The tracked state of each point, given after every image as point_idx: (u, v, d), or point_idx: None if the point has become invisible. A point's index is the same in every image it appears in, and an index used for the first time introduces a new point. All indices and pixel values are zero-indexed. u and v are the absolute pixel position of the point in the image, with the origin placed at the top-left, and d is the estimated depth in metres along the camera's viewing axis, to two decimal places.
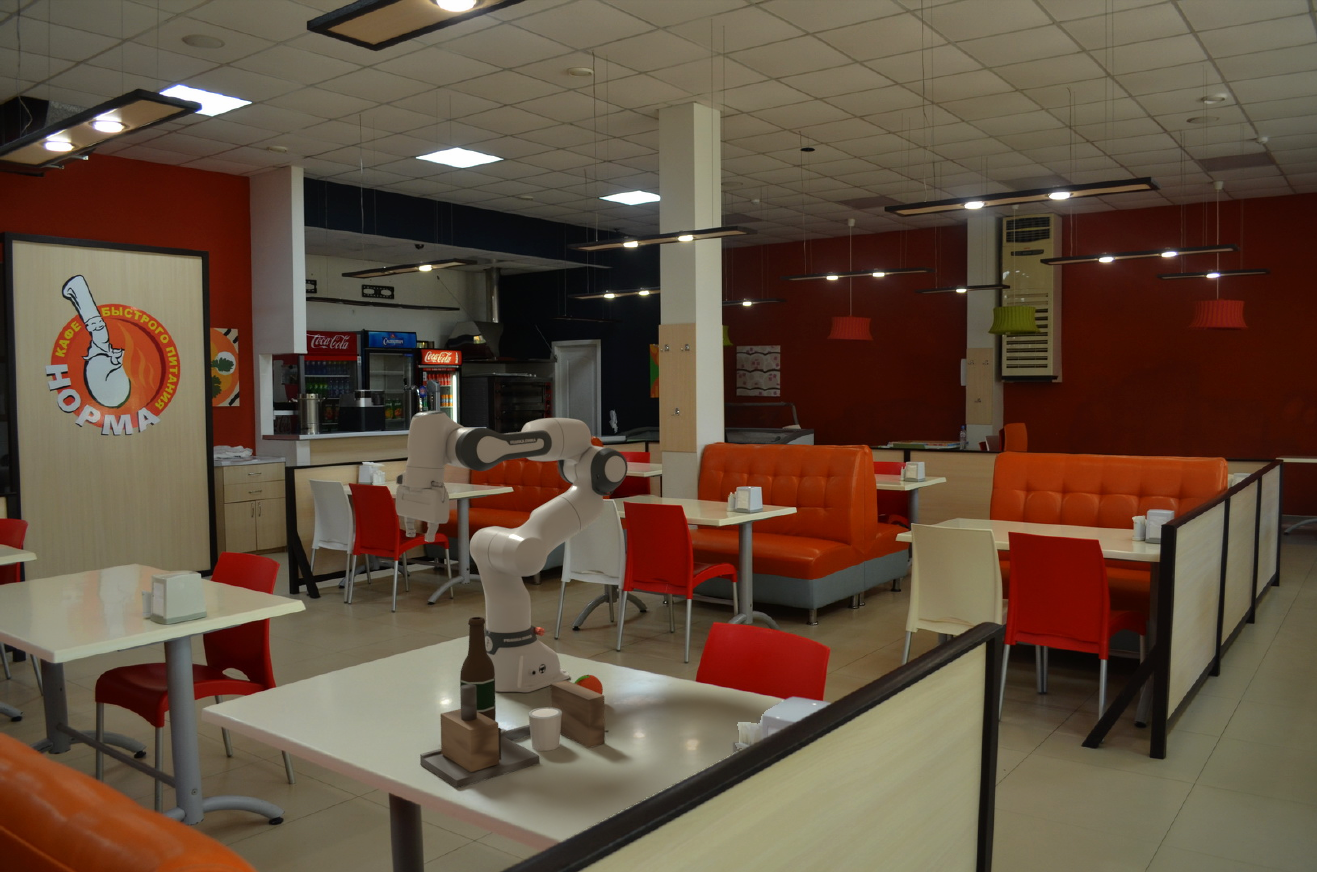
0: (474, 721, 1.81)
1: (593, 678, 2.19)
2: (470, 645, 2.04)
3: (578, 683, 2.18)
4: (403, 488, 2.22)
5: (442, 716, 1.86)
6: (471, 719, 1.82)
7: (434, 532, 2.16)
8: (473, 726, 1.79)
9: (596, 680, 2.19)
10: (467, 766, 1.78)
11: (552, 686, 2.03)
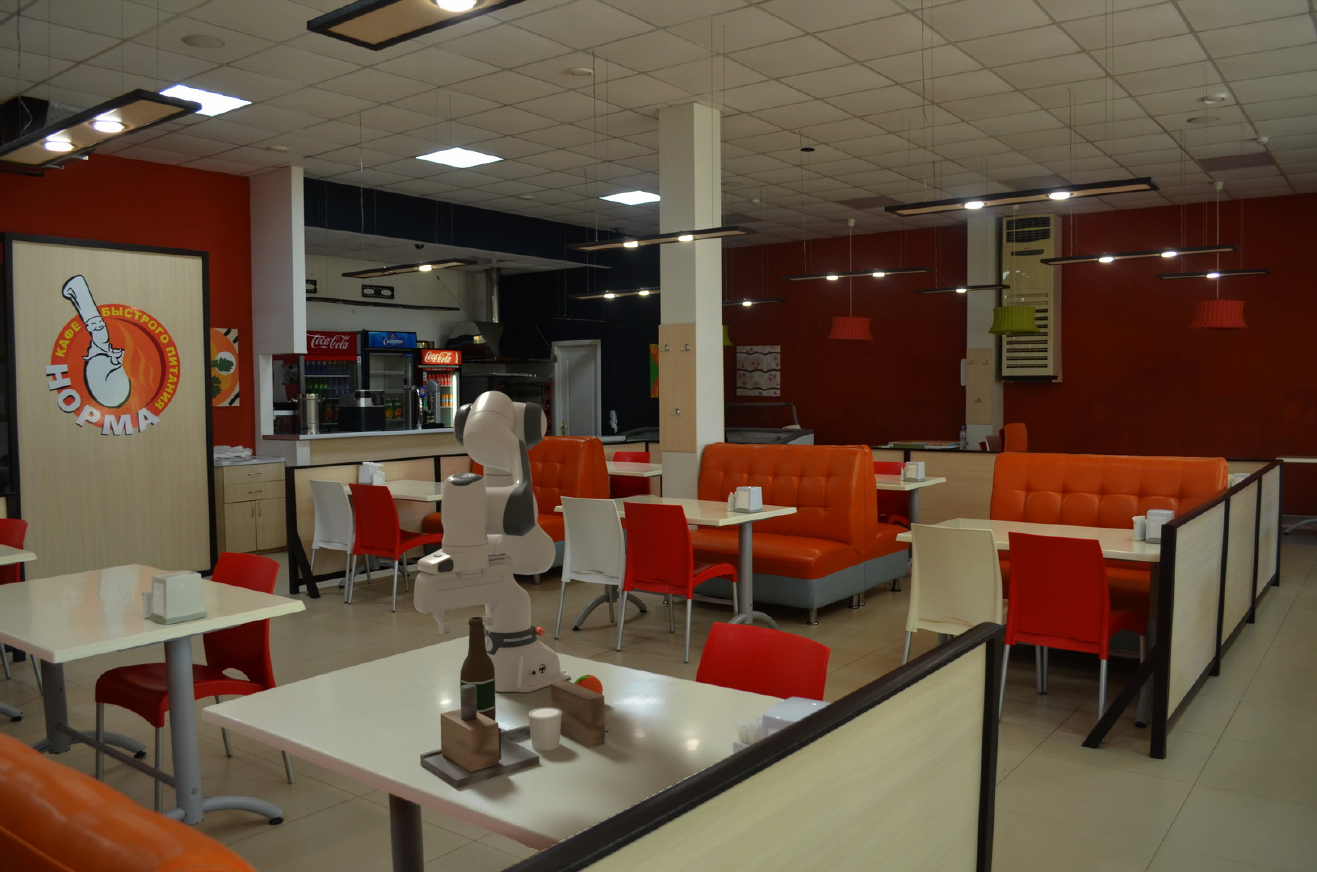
0: (474, 721, 1.81)
1: (593, 678, 2.19)
2: (470, 645, 2.04)
3: (578, 683, 2.18)
4: (450, 575, 1.77)
5: (442, 716, 1.86)
6: (471, 719, 1.82)
7: None
8: (473, 726, 1.79)
9: (596, 680, 2.19)
10: (467, 766, 1.78)
11: (552, 686, 2.03)
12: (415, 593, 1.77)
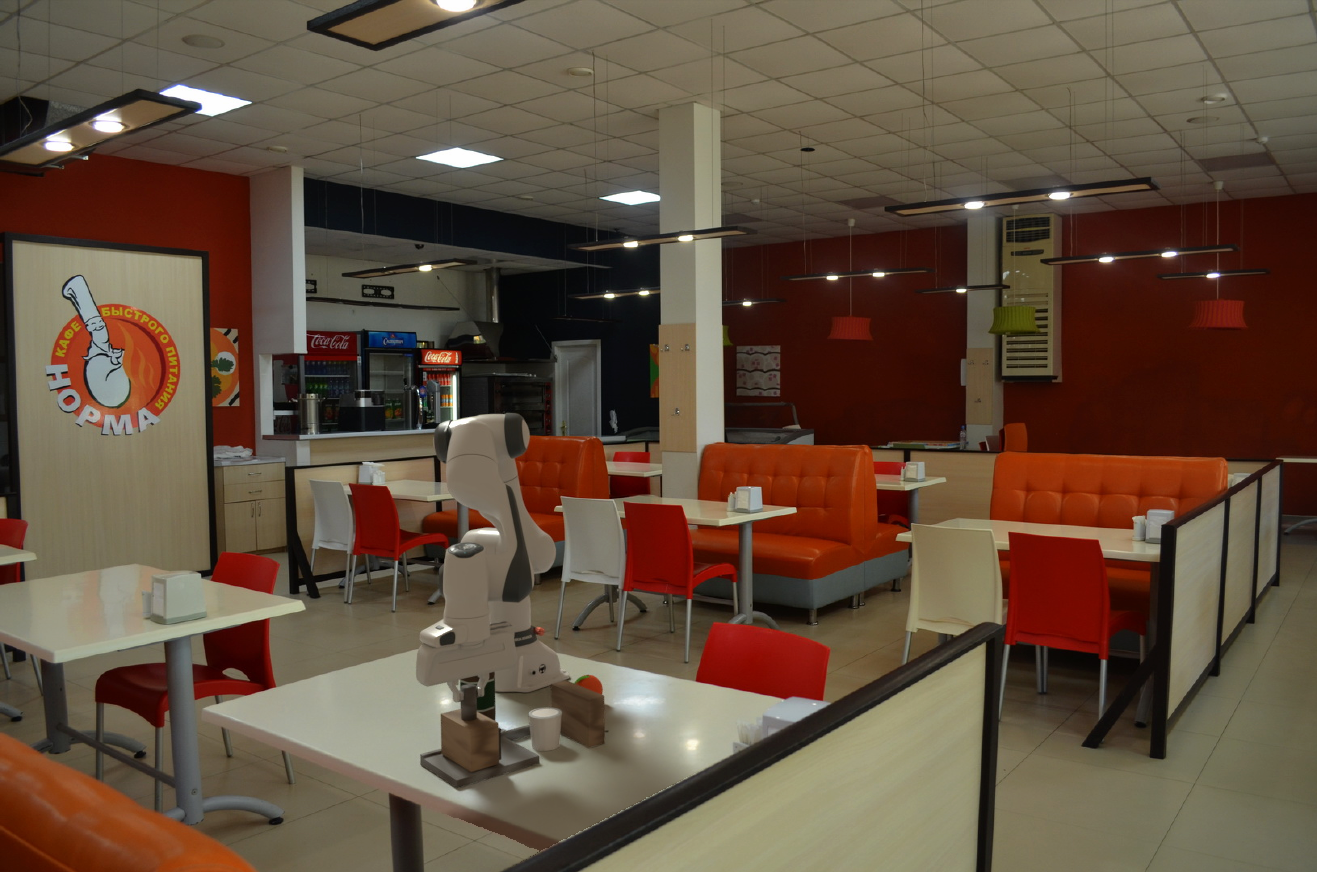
0: (474, 721, 1.81)
1: (593, 678, 2.19)
2: None
3: (578, 683, 2.18)
4: (452, 648, 1.78)
5: (442, 716, 1.86)
6: (471, 719, 1.82)
7: None
8: (473, 726, 1.79)
9: (596, 680, 2.19)
10: (467, 766, 1.78)
11: (552, 686, 2.03)
12: (417, 665, 1.77)
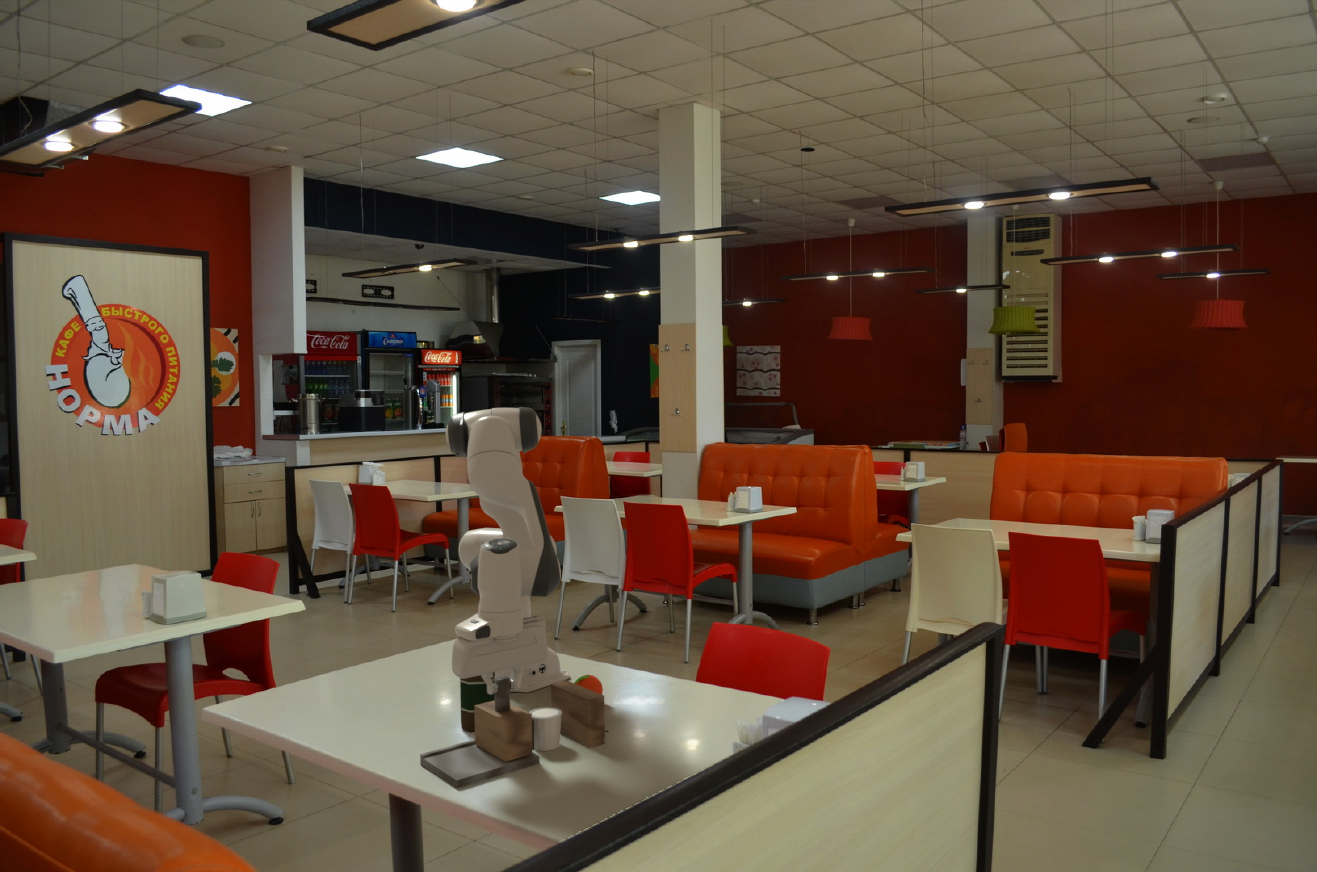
0: (508, 712, 1.86)
1: (593, 678, 2.19)
2: None
3: (578, 683, 2.18)
4: (487, 641, 1.82)
5: (475, 708, 1.90)
6: (505, 710, 1.87)
7: None
8: (507, 717, 1.83)
9: (596, 680, 2.19)
10: (502, 756, 1.83)
11: (552, 686, 2.03)
12: (453, 658, 1.82)
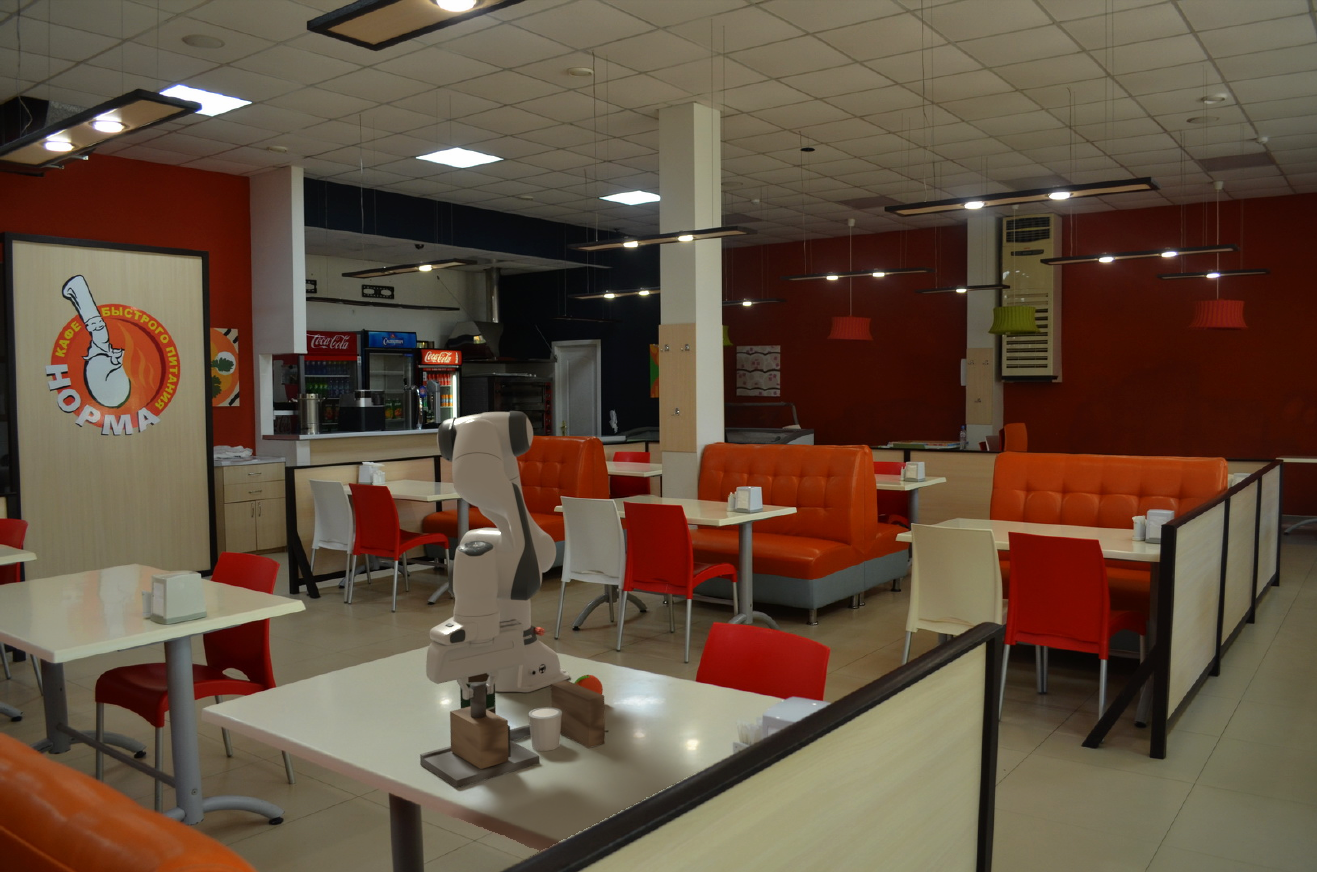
0: (483, 719, 1.83)
1: (593, 678, 2.19)
2: None
3: (578, 683, 2.18)
4: (462, 645, 1.79)
5: (451, 714, 1.87)
6: (481, 717, 1.83)
7: None
8: (483, 724, 1.80)
9: (596, 680, 2.19)
10: (477, 763, 1.80)
11: (552, 686, 2.03)
12: (428, 663, 1.79)
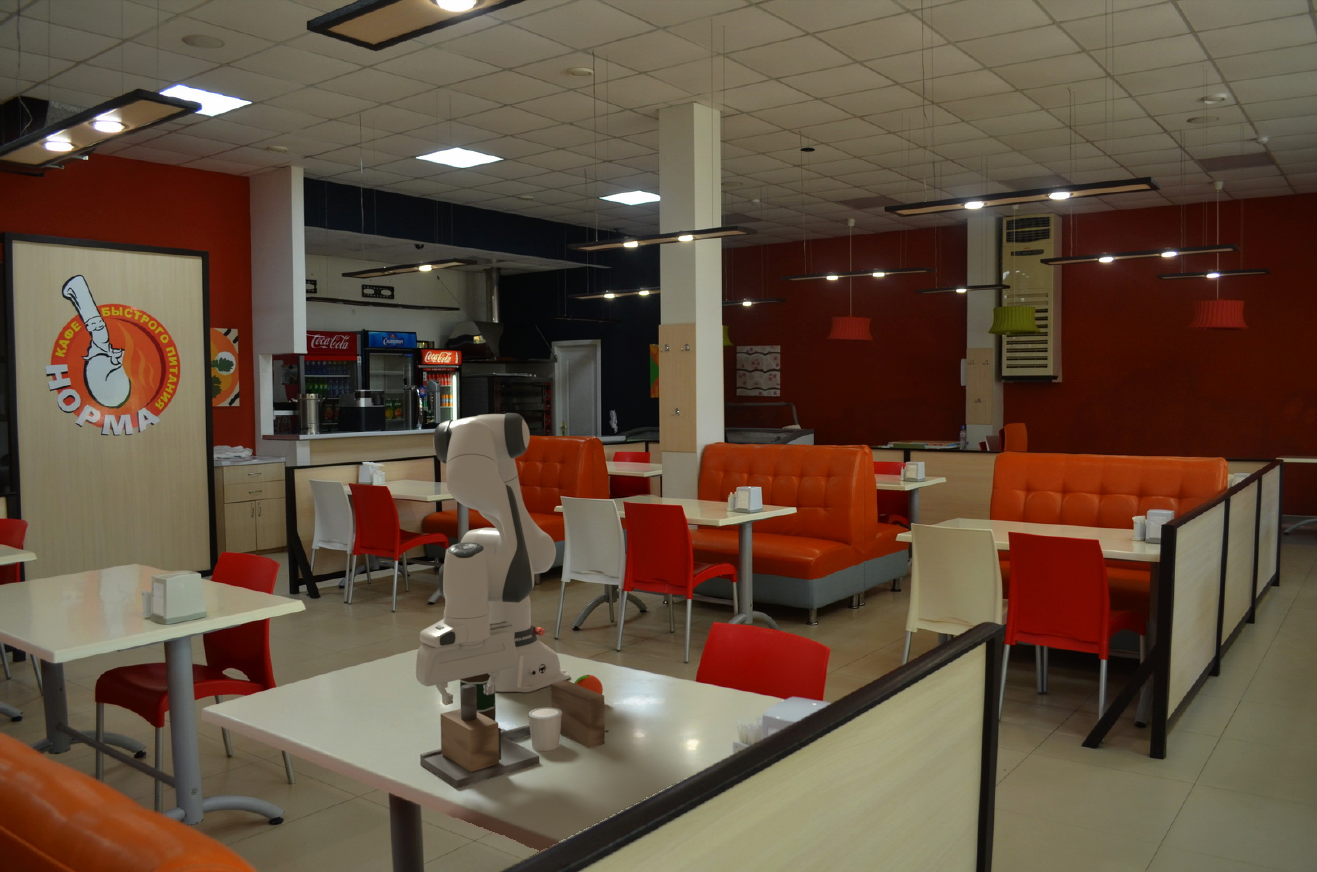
0: (474, 721, 1.81)
1: (593, 678, 2.19)
2: None
3: (578, 683, 2.18)
4: (452, 648, 1.78)
5: (442, 716, 1.86)
6: (471, 719, 1.82)
7: None
8: (473, 726, 1.79)
9: (596, 680, 2.19)
10: (467, 766, 1.78)
11: (552, 686, 2.03)
12: (417, 665, 1.77)
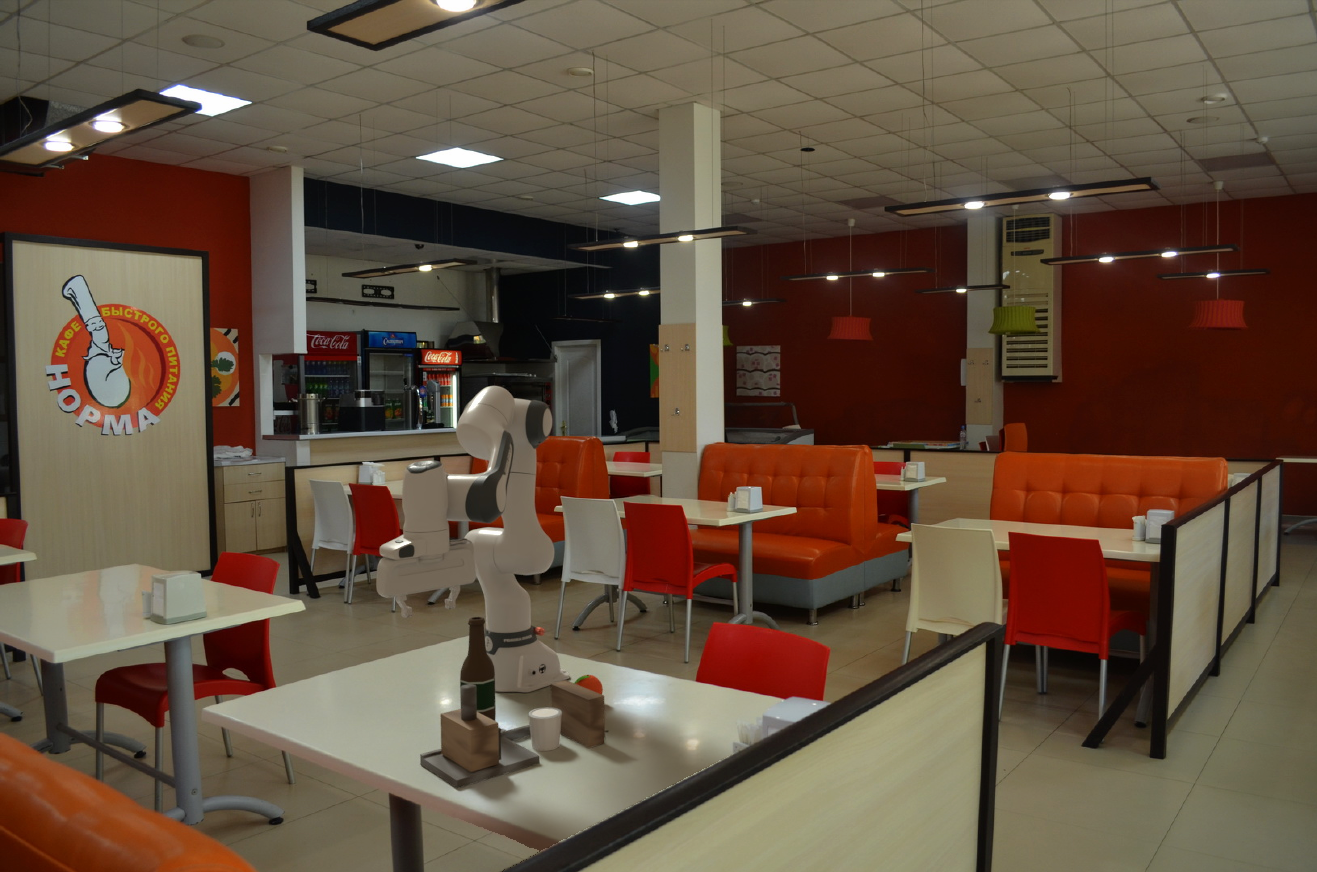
0: (474, 721, 1.81)
1: (593, 678, 2.19)
2: (470, 645, 2.04)
3: (578, 683, 2.18)
4: (412, 561, 1.82)
5: (442, 716, 1.86)
6: (471, 719, 1.82)
7: None
8: (473, 726, 1.79)
9: (596, 680, 2.19)
10: (467, 766, 1.78)
11: (552, 686, 2.03)
12: (378, 578, 1.82)
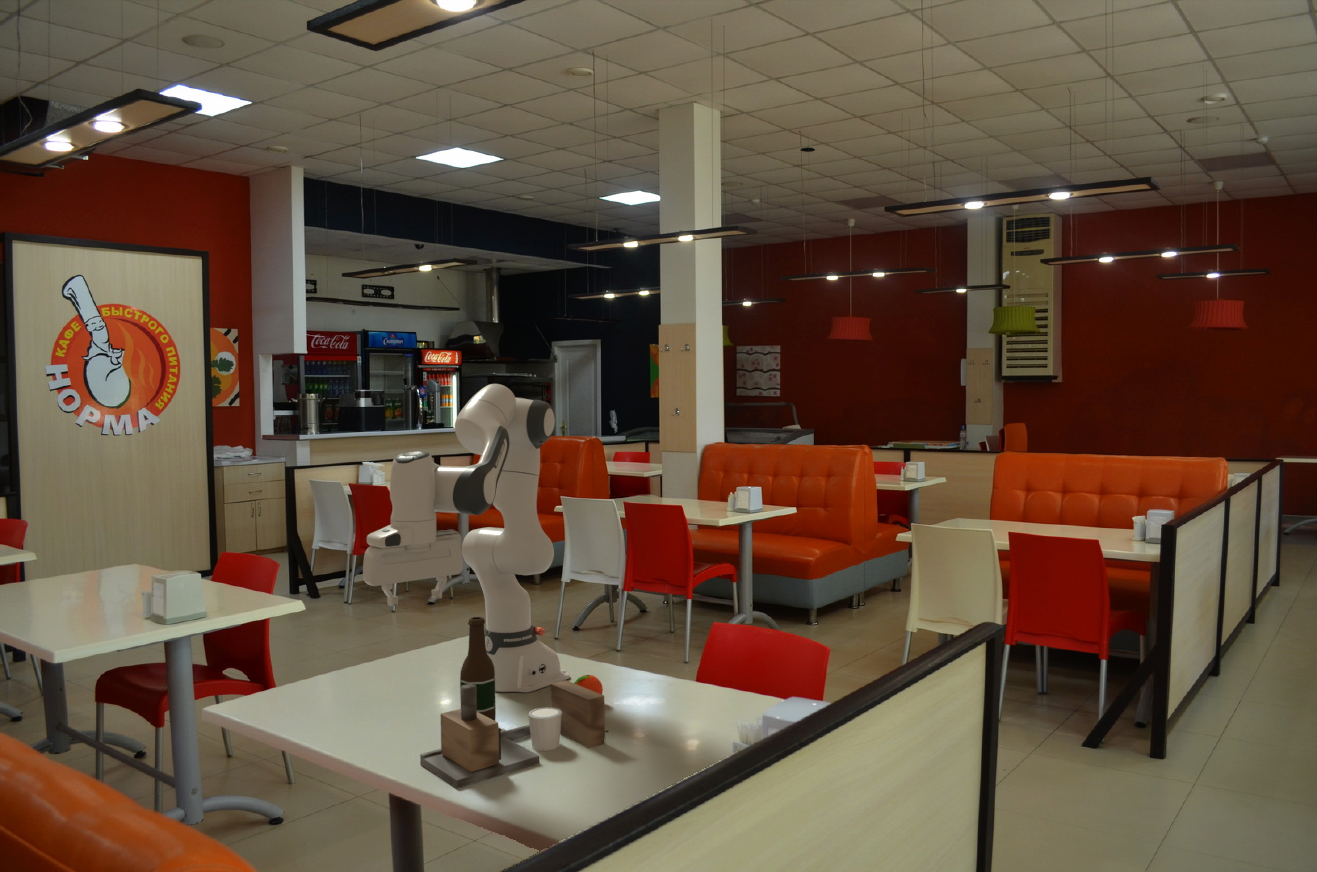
0: (474, 721, 1.81)
1: (593, 678, 2.19)
2: (470, 645, 2.04)
3: (578, 683, 2.18)
4: (398, 549, 1.84)
5: (442, 716, 1.86)
6: (471, 719, 1.82)
7: None
8: (473, 726, 1.79)
9: (596, 680, 2.19)
10: (467, 766, 1.78)
11: (552, 686, 2.03)
12: (364, 566, 1.84)
